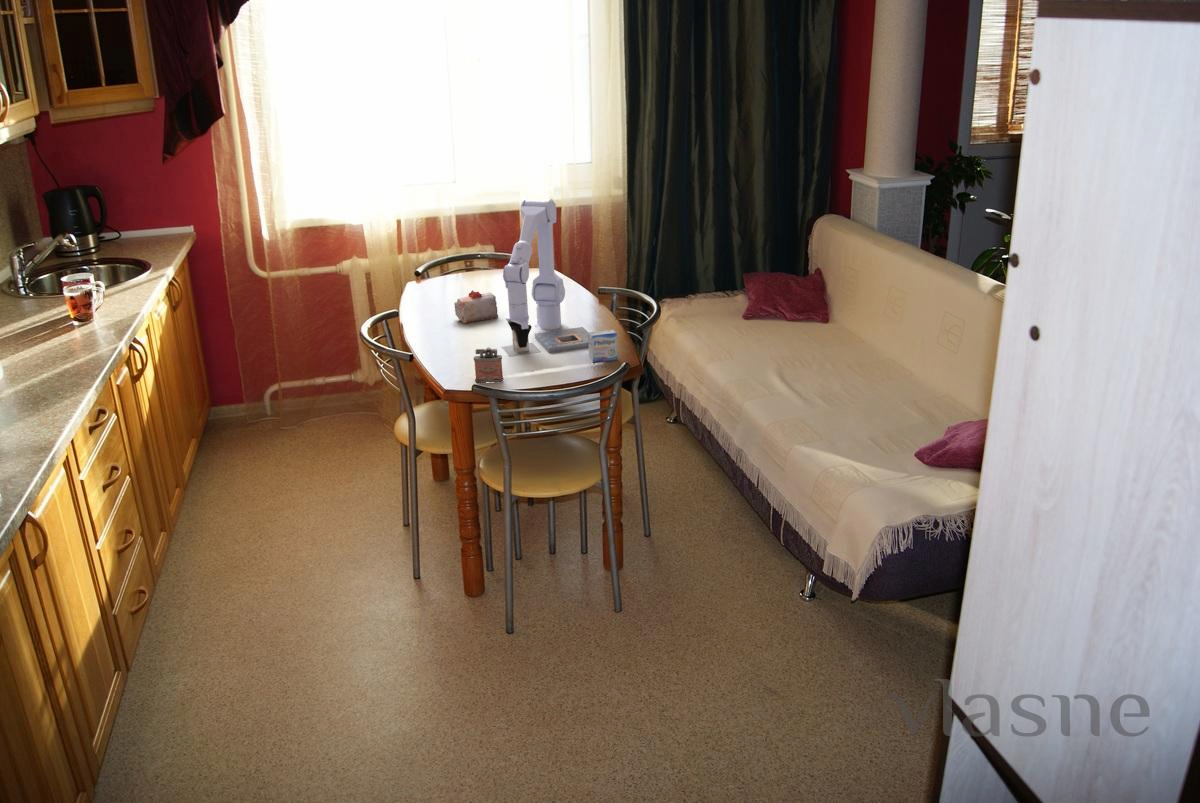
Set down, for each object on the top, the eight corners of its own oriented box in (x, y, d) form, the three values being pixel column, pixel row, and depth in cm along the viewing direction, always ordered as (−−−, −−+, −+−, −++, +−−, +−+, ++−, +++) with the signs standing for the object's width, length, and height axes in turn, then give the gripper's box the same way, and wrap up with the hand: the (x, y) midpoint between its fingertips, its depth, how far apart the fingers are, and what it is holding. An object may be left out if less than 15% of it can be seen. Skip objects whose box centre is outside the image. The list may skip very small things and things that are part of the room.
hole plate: (535, 340, 323) (534, 333, 323) (582, 334, 328) (582, 326, 327) (549, 356, 309) (548, 347, 308) (598, 348, 314) (598, 340, 313)
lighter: (504, 378, 292) (501, 345, 289) (503, 382, 289) (500, 349, 285) (476, 380, 292) (473, 347, 288) (475, 384, 289) (472, 351, 285)
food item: (462, 325, 342) (460, 297, 338) (454, 319, 349) (451, 292, 345) (499, 318, 348) (497, 291, 344) (490, 313, 354) (488, 285, 351)
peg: (513, 348, 314) (512, 329, 312) (525, 346, 315) (524, 328, 313) (516, 352, 311) (515, 333, 309) (529, 350, 312) (527, 331, 310)
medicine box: (592, 363, 302) (591, 335, 298) (588, 359, 306) (587, 331, 302) (618, 360, 304) (617, 332, 300) (613, 355, 308) (612, 328, 304)
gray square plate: (501, 349, 316) (501, 346, 316) (532, 345, 319) (532, 342, 319) (509, 359, 308) (509, 356, 307) (541, 354, 311) (541, 351, 310)
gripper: (499, 298, 313) (502, 340, 318) (511, 310, 300) (514, 353, 305) (521, 295, 315) (524, 337, 320) (534, 307, 302) (536, 350, 307)
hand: (520, 345), depth 313 cm, fingers closed on peg, 4 cm apart
